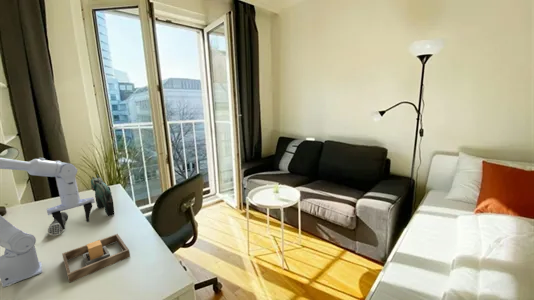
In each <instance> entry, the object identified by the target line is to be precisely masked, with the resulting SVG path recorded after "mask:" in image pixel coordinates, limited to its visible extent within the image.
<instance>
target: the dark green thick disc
mask: <svg viewBox="0 0 534 300" xmlns="http://www.w3.org/2000/svg"><path fill="white" fill-rule="evenodd" d="M90 187H91V190H92V192H94V195H95V196H94V197H95V198H94V199H95V203H96V207H97V209H104V211H105V214H106V216H107V217H111V216H114V215H115V208H114V207H115V206H114V199H113V195H112V190H111V187H110V186H108V185H107V184H106V183H105V182H104V181H103V178H102V177H100V176H99V174H96V177H95V176H91V179H90Z"/></svg>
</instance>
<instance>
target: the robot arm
mask: <svg viewBox="0 0 534 300" xmlns="http://www.w3.org/2000/svg"><path fill="white" fill-rule="evenodd" d="M0 169H1V170H13V171H25V172H27V173H28V174H29V175H31V176H38V177H50V178H55V181H56V187H57V190H58V195H59V199H60V204H57V205H55V206H52V207H50V208H46V212H47V215H48V216H51V215H52V219H53V220H54V219H56V220H57V221H58V222H59V224H60V225H61V227H62V229H63V231H64V230H66V225H65V226H64V224H63V220H62V216H61V212H64V211H67V210H71V209H74V208H79V207H81V206H82V207H83V210H84V216H85V221H86V223H89V222H90V215H91V210H92V208H93V204H94V203H96V200H95V198H94V197H88V198H80V193H79V188H78V183H77V178H76V175H77V173H78V168H76V166H75V165H74V164H73V163H70V162H64V161H63V162H62V161H61V160H57V159H56V160H48V159H46V158H44V157H38V158H33V159H32V160H28V161H24V160H19V159H12V158H4V157H0ZM36 242H37V238H36V237H35V235H34V234H31V233H28V232H25V231H23V230H22V229H20V228H18V227H16V225H13V224H12V223H11V222H10V221H8V220H7V219H6V218H5V217H3V216H2V215H1V214H0V247H1V248H4V253H3V255H0V282H1V284H2V286H1V287H2V288H6V287H8V286H11V285H13V284H14V285H15V284H16V283H19V282H21V281H24V280H26V279H29V278H32V277H34V276H37V275H40V274H41V273H43V266H42V265H43V264H42V261H39V257H38V254H37V249H36V247H35V245H36Z"/></svg>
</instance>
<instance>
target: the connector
mask: <svg viewBox="0 0 534 300" xmlns="http://www.w3.org/2000/svg"><path fill="white" fill-rule="evenodd" d="M100 240H101V239H98V240H95V241H92V242H90V243H87V244H86V245H87V249H88V253H89V258H88V259H89V261H90V260H93V259H95V258H98V257H100V256H103V255H105V253H104V252H103V248H102V244H101V242H100Z"/></svg>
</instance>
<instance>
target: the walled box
mask: <svg viewBox="0 0 534 300" xmlns="http://www.w3.org/2000/svg"><path fill="white" fill-rule="evenodd" d="M99 240H100V242H101V244H102V248H103V253H104V255H103V256H100V257H98V258H95V259H93V260H90V258H89V253H88V249H87V244H85V245H82V246H80V247H77V248H73V249H71V250H69V251H68V250H67V251H65V252H63V253H62V259H63V263H64V266H65V272H66V275H67V277H68V278H67V279H68V283H73V282H75V281H77V280H81V279H82V278H85V277H87V276H89V275H92V274H93V273H96V272H98V271H101V270H103V269H105V268H108V267H109V266H112V265H114V264H117V263H119V262H120V263H121V262H122V261H124V260H127V259H129V258H131V253H130V249H129V248H128V246H127V245H126V243H125V242H124V241H123V240H122V238H121V237H120V235H119V234H118V233H115V234H113V235H111V236H110V235H109V236H107V237H104V238H101V239H99ZM114 243H117V244H118V246H119V247H120V249H121V250H122V251H119V252H117V253H115V254H113V255H111V253H110V251H109V250H108V248H107V246H109V245H112V244H114ZM80 256H82V257H83V261H84V263H85V266H83V267H81V268H78V269H76V270H73V271H71V269H70V266H69V263H68V261H70V260H73V259H75V258H78V257H80Z"/></svg>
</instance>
